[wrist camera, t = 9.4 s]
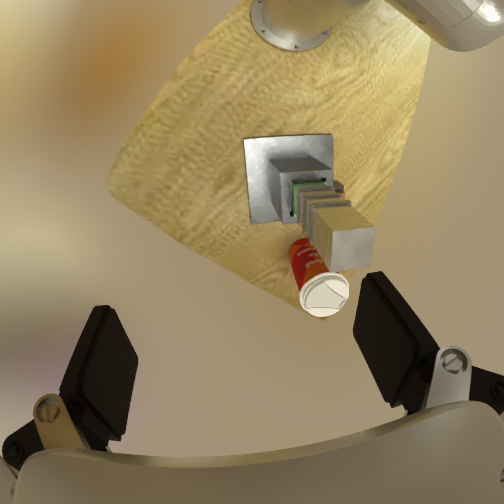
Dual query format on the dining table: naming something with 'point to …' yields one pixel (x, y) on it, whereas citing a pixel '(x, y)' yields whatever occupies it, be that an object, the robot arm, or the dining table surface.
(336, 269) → the column
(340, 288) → the paper cup
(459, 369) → the robot arm
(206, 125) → the dining table surface
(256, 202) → the stand base
